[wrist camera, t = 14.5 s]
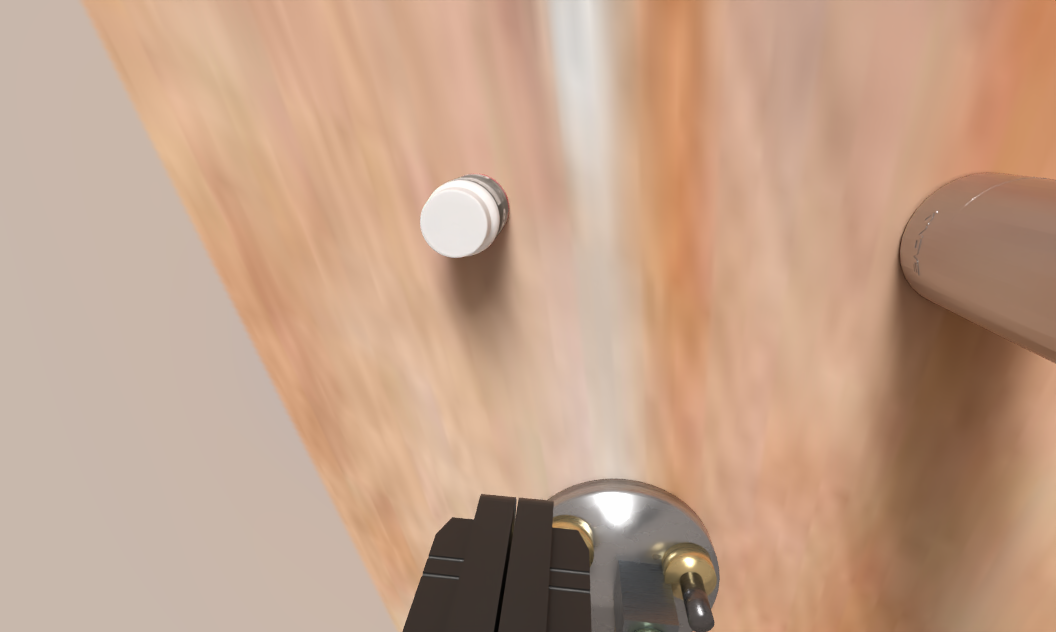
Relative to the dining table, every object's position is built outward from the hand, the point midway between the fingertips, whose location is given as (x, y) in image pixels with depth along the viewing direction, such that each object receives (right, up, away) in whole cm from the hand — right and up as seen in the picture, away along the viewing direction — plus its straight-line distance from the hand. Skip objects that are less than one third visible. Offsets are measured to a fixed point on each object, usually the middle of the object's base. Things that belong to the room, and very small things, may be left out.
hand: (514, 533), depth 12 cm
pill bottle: (-3, +12, +29) cm, 32 cm away
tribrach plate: (+8, -17, +38) cm, 42 cm away
